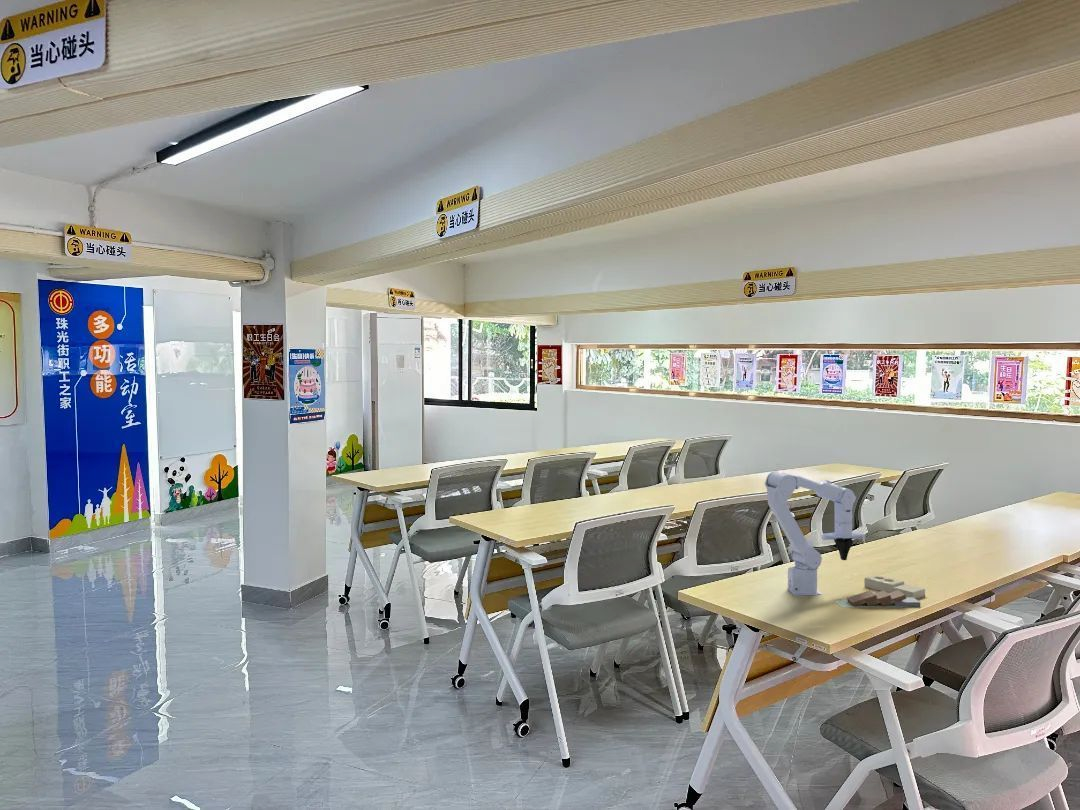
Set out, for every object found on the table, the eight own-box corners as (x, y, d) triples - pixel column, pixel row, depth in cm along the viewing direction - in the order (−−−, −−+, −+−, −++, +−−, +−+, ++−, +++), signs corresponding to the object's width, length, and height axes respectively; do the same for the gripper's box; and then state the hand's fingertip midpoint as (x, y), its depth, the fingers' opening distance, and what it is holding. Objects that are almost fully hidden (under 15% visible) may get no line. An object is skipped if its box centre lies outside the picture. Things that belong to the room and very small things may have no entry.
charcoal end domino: (895, 602, 238) (920, 602, 238) (888, 597, 243) (913, 597, 243) (895, 606, 238) (920, 606, 238) (888, 601, 243) (913, 601, 243)
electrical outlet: (913, 589, 245) (864, 577, 260) (912, 601, 245) (864, 588, 260) (925, 586, 249) (876, 574, 264) (924, 597, 249) (876, 585, 264)
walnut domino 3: (881, 602, 238) (904, 594, 238) (874, 597, 243) (898, 590, 243) (882, 606, 238) (906, 598, 238) (876, 601, 243) (899, 594, 243)
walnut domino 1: (852, 602, 239) (876, 595, 238) (846, 597, 244) (869, 590, 243) (853, 606, 239) (877, 599, 238) (847, 601, 244) (871, 594, 243)
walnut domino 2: (866, 602, 238) (890, 595, 238) (860, 597, 243) (883, 590, 243) (867, 606, 239) (891, 599, 238) (861, 601, 243) (885, 594, 243)
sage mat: (841, 608, 238) (841, 607, 238) (833, 601, 245) (833, 600, 245) (904, 607, 238) (904, 607, 238) (894, 601, 245) (894, 600, 245)
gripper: (826, 524, 254) (826, 562, 255) (868, 523, 254) (869, 562, 254) (819, 520, 261) (819, 557, 262) (860, 519, 261) (860, 556, 261)
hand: (843, 559), depth 259 cm, fingers closed
